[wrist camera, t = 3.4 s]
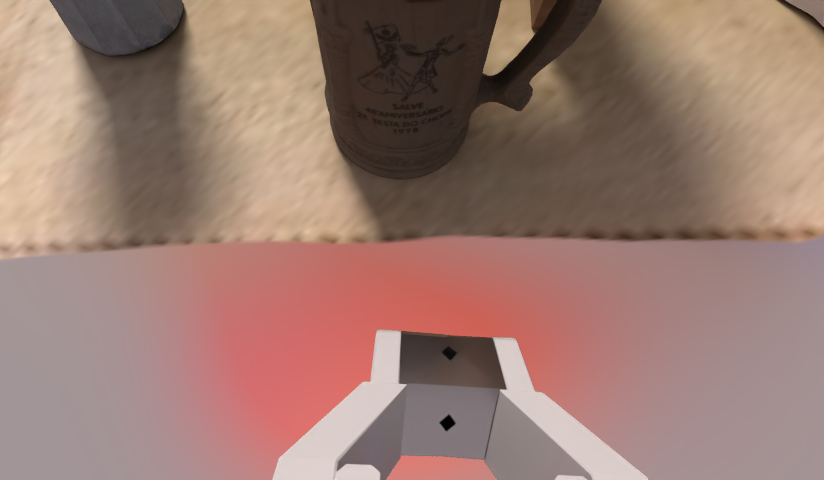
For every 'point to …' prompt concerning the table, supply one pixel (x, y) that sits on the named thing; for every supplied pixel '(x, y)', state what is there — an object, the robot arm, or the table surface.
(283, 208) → the table surface
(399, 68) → the beer stein
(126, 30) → the moka pot
